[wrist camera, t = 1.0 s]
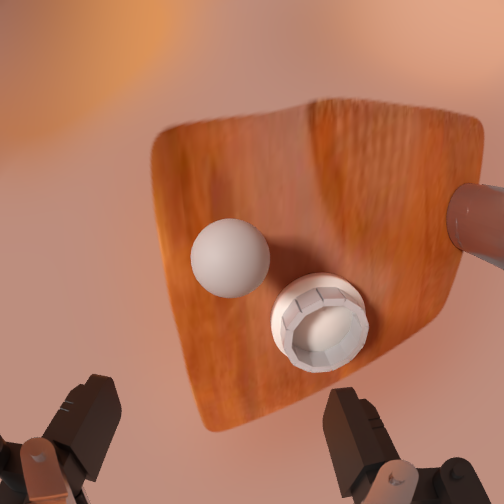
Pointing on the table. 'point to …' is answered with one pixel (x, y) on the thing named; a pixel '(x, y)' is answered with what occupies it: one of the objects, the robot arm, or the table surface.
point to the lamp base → (319, 322)
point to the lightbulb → (230, 258)
